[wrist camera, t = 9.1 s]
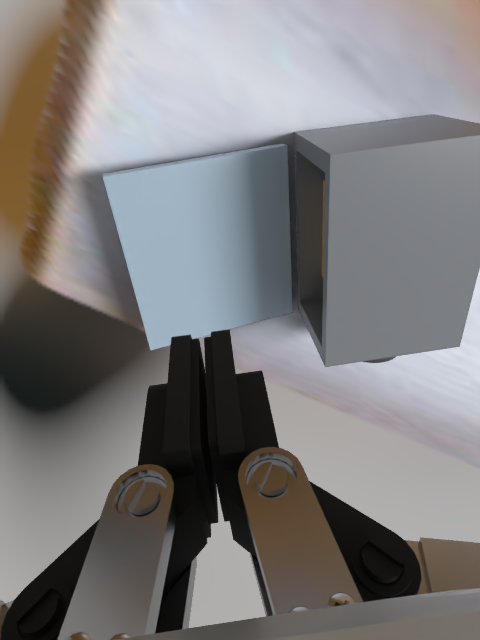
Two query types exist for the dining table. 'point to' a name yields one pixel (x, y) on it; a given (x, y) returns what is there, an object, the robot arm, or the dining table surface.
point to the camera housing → (387, 235)
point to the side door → (206, 240)
